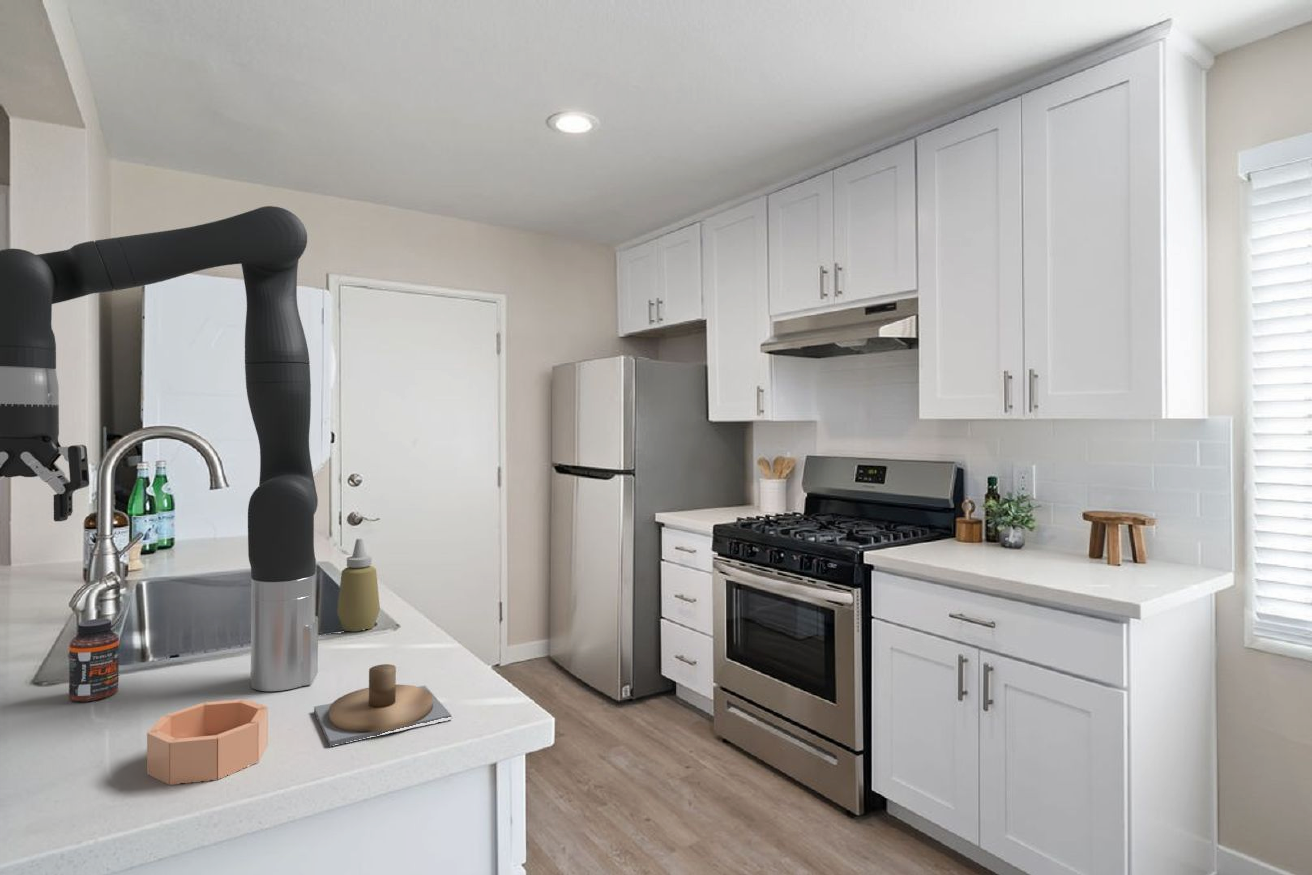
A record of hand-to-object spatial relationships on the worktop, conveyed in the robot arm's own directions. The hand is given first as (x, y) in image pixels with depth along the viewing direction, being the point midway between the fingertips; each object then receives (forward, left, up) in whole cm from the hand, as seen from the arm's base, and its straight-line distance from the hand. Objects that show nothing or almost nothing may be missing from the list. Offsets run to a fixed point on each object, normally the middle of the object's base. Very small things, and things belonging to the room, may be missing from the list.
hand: (23, 521), depth 97 cm
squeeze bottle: (-38, -38, -28) cm, 61 cm away
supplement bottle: (-4, -10, -28) cm, 30 cm away
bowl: (-27, +16, -28) cm, 42 cm away
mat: (-46, +8, -28) cm, 55 cm away
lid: (-46, +8, -27) cm, 54 cm away
